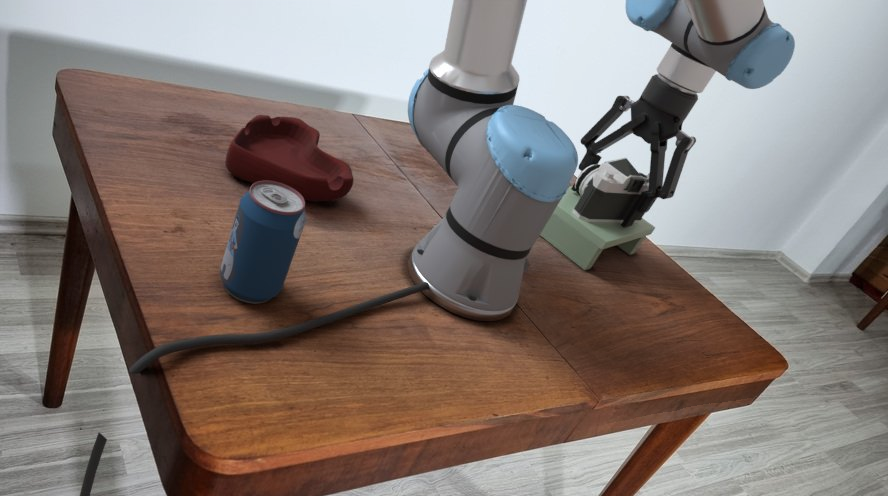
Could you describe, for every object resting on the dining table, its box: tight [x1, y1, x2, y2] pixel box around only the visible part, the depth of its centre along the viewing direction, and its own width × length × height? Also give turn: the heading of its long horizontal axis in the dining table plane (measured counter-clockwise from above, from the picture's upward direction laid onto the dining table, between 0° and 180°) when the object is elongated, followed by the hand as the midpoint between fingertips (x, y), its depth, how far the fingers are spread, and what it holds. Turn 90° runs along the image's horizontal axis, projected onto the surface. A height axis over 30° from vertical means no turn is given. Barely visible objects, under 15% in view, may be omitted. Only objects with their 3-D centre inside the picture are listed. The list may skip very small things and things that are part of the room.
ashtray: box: [224, 114, 355, 206], centre depth 98 cm, size 18×16×5 cm
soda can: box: [219, 181, 307, 305], centre depth 75 cm, size 7×7×12 cm
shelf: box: [539, 185, 656, 271], centre depth 119 cm, size 18×14×6 cm
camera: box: [572, 157, 650, 223], centre depth 115 cm, size 16×9×10 cm, turn 120°
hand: (600, 207), depth 118 cm, fingers open, 10 cm apart
